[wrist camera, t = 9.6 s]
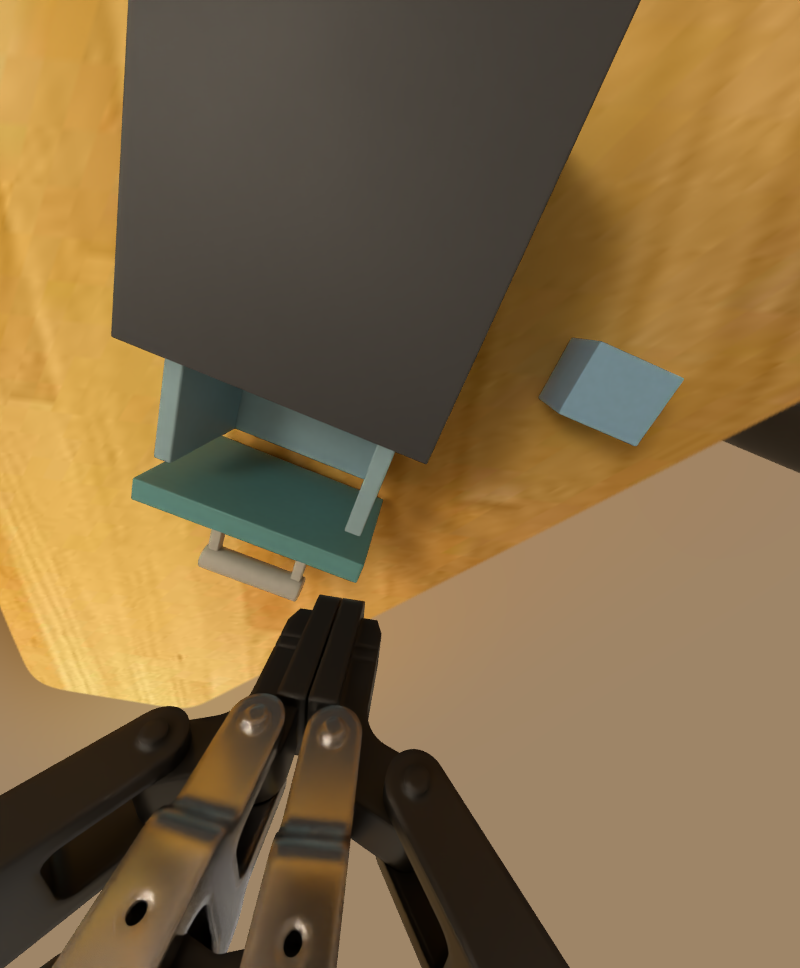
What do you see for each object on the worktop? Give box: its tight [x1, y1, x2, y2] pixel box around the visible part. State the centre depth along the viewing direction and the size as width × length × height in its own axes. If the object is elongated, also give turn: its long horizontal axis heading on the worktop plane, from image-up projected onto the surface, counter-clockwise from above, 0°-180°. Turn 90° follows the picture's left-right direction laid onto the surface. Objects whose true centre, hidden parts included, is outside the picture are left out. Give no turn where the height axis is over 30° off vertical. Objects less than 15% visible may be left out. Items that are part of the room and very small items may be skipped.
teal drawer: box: [131, 358, 395, 601], centre depth 20 cm, size 18×11×7 cm, turn 158°
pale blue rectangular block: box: [538, 338, 684, 446], centre depth 19 cm, size 4×4×4 cm
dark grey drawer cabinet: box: [111, 0, 641, 464], centre depth 15 cm, size 14×13×9 cm
